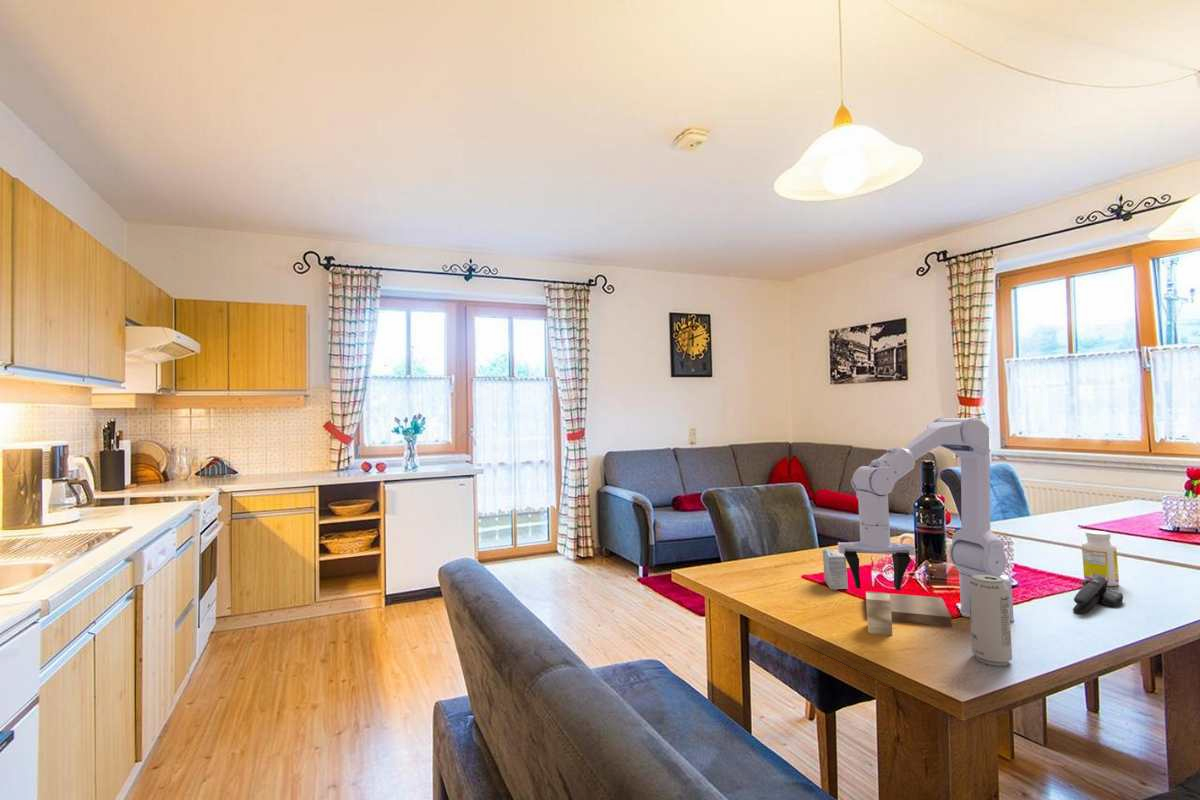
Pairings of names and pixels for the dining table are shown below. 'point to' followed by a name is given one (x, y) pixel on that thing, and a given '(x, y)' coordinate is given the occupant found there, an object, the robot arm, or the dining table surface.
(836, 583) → the medicine box
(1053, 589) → the dining table surface
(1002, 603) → the energy drink can
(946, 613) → the taupe rectangular slab
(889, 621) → the maple block
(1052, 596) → the dining table surface
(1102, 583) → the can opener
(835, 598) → the dining table surface
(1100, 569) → the supplement bottle
